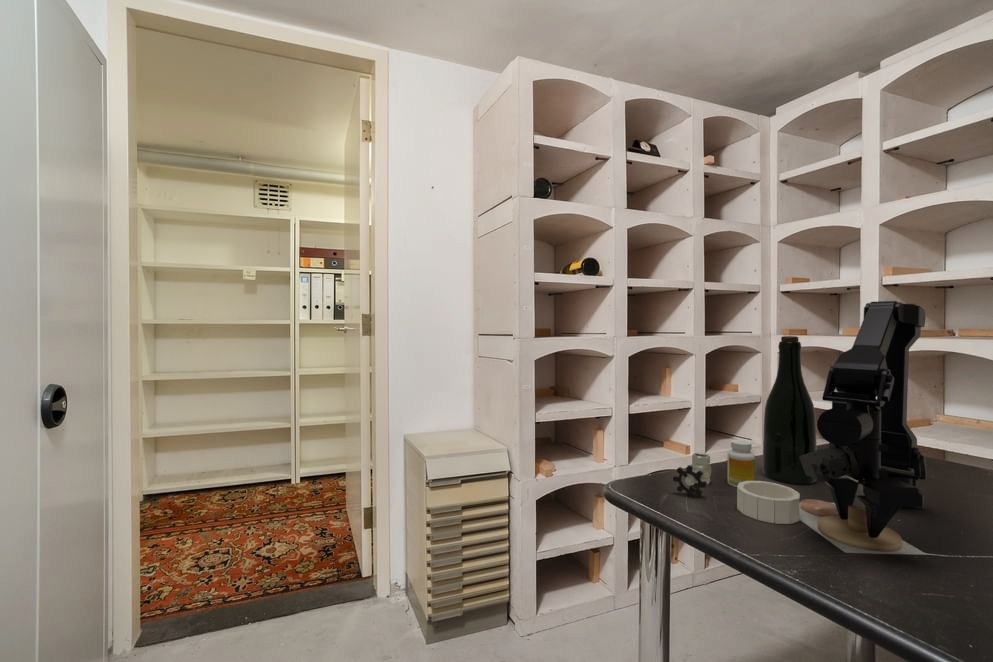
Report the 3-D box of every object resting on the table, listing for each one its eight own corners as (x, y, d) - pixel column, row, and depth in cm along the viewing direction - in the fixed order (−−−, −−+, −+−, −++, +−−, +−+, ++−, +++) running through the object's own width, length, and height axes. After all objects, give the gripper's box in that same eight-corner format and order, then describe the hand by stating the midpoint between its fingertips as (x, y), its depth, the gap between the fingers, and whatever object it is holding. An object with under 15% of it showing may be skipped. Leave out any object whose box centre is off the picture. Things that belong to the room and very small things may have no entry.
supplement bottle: (758, 490, 97) (759, 445, 97) (731, 489, 98) (731, 444, 98) (750, 482, 103) (750, 439, 102) (724, 480, 104) (724, 438, 104)
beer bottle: (828, 485, 100) (829, 336, 100) (786, 488, 99) (787, 337, 98) (791, 470, 111) (791, 335, 110) (752, 472, 109) (752, 335, 108)
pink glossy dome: (825, 504, 89) (825, 499, 89) (847, 517, 83) (847, 512, 83) (793, 503, 89) (793, 498, 89) (812, 517, 83) (812, 511, 83)
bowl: (780, 503, 90) (780, 481, 90) (811, 526, 80) (811, 501, 80) (728, 502, 91) (728, 480, 91) (753, 524, 81) (753, 499, 81)
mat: (838, 504, 90) (838, 502, 90) (927, 557, 70) (927, 554, 70) (775, 503, 90) (775, 501, 90) (845, 554, 70) (845, 552, 70)
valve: (688, 478, 106) (672, 494, 96) (688, 450, 106) (672, 463, 96) (719, 484, 102) (706, 501, 92) (719, 455, 101) (706, 469, 92)
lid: (867, 521, 81) (867, 496, 81) (921, 552, 70) (921, 523, 70) (803, 520, 82) (803, 495, 82) (847, 550, 71) (847, 522, 71)
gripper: (777, 422, 86) (777, 504, 86) (847, 450, 67) (846, 555, 67) (839, 423, 85) (838, 505, 85) (927, 451, 66) (926, 557, 67)
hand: (857, 527), depth 76 cm, fingers open, 6 cm apart
